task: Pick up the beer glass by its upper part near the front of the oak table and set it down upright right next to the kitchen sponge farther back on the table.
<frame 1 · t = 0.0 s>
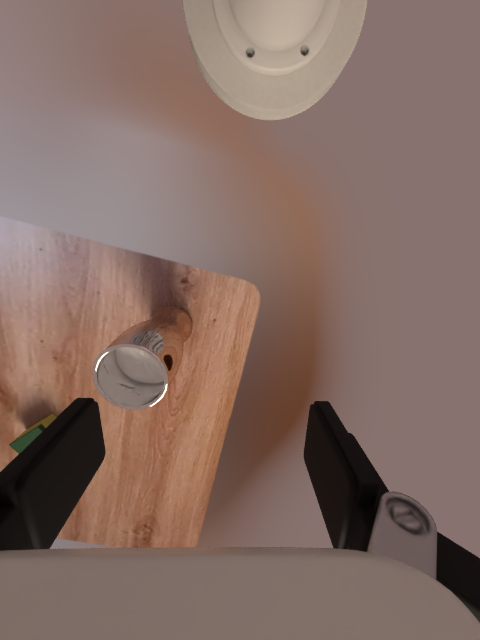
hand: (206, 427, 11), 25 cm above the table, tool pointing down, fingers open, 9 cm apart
sponge: (59, 439, 41), on the table
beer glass: (172, 325, 36), on the table
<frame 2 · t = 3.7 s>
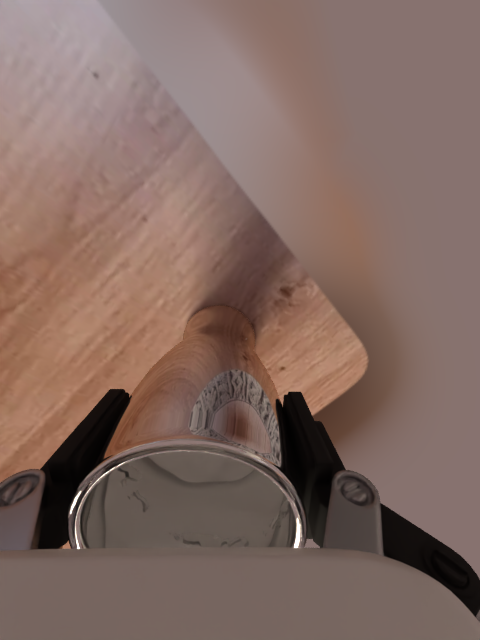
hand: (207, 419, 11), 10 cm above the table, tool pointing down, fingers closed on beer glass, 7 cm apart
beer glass: (219, 338, 21), on the table, touching gripper
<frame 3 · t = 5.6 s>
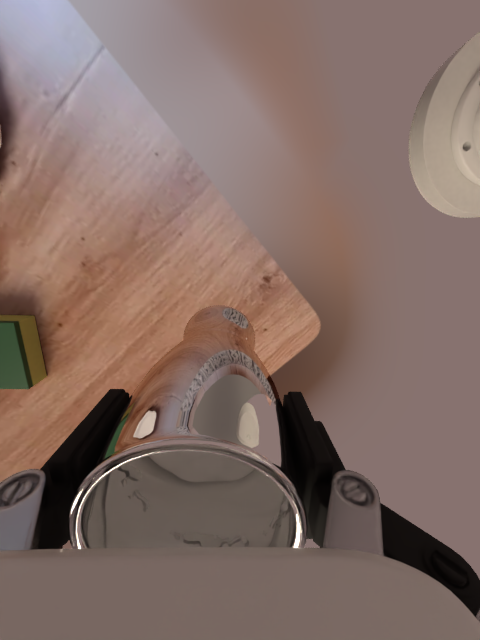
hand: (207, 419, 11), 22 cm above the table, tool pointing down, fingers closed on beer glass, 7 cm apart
sponge: (18, 346, 33), on the table
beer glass: (219, 338, 21), point 12 cm above the table, touching gripper
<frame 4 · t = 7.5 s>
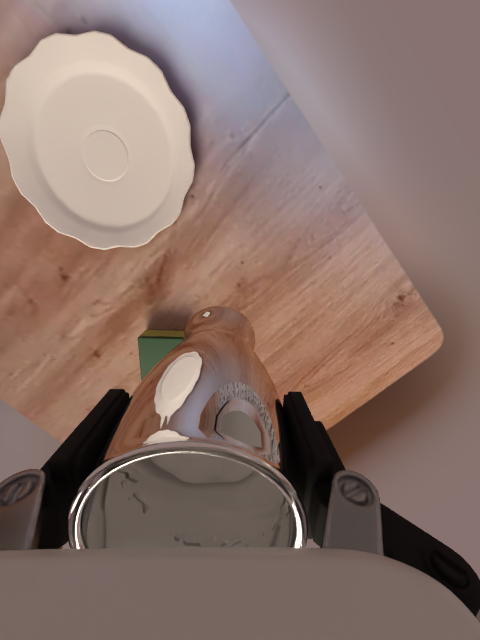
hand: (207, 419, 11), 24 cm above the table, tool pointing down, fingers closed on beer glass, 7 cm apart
sponge: (168, 358, 37), on the table
plate: (107, 157, 29), on the table
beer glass: (219, 338, 21), point 14 cm above the table, touching gripper
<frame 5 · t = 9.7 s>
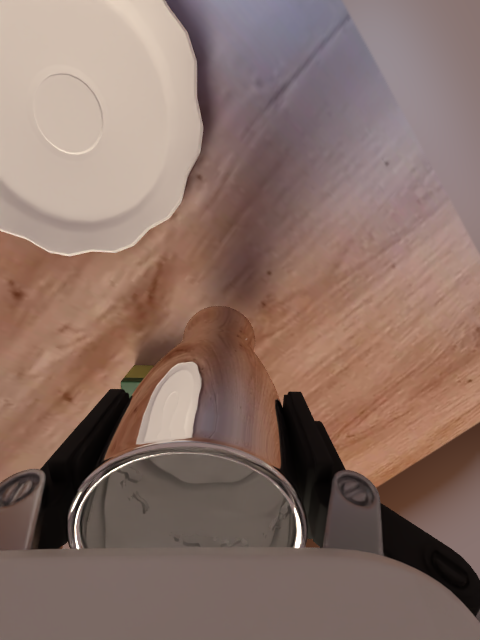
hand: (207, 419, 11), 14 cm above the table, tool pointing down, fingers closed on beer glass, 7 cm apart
sponge: (165, 402, 27), on the table
plate: (72, 118, 19), on the table
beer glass: (219, 338, 21), point 3 cm above the table, touching gripper
when the fingers open (10 cm above the table, at t = 11.3 s): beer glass stays where it is, on the table.
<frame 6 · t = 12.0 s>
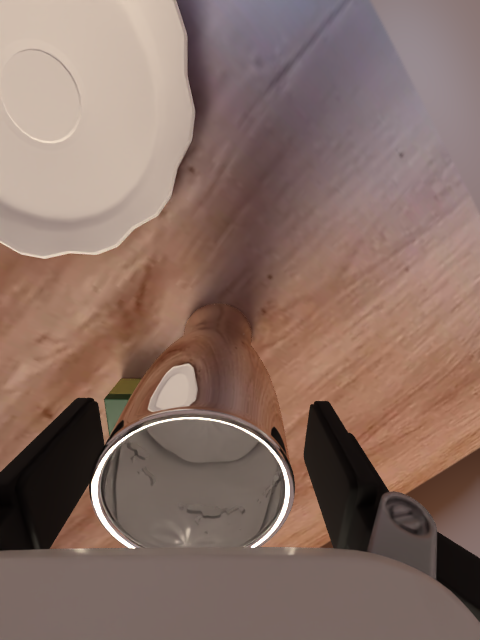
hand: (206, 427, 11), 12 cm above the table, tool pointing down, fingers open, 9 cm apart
sponge: (156, 418, 24), on the table
plate: (45, 101, 17), on the table
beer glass: (218, 334, 22), on the table
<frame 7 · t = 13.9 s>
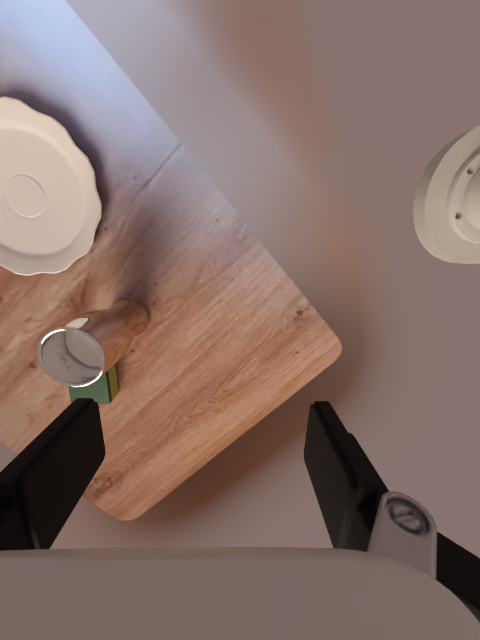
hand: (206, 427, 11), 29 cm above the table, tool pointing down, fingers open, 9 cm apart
sponge: (97, 368, 41), on the table
plate: (28, 196, 34), on the table
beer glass: (130, 317, 39), on the table
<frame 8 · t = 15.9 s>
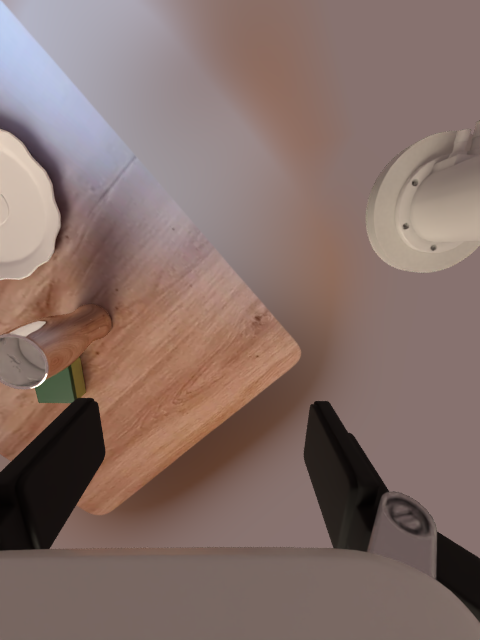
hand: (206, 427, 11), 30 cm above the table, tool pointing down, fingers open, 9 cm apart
sponge: (65, 369, 43), on the table
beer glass: (94, 321, 41), on the table
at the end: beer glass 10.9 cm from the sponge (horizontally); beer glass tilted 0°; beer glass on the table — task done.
